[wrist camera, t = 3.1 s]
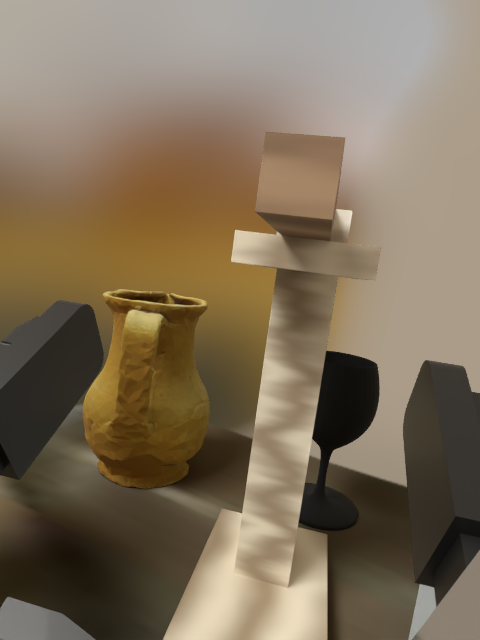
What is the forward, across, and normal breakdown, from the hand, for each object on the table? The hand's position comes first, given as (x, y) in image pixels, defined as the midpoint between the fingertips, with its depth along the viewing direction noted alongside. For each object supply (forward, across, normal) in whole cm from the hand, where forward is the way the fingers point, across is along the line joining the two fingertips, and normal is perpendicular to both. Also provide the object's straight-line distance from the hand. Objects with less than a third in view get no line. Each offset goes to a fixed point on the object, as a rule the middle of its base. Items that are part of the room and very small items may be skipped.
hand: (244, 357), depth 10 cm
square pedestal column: (+9, 0, +37) cm, 38 cm away
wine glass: (+24, -5, +46) cm, 52 cm away
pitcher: (+23, +20, +46) cm, 55 cm away
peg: (+18, 0, +5) cm, 18 cm away
